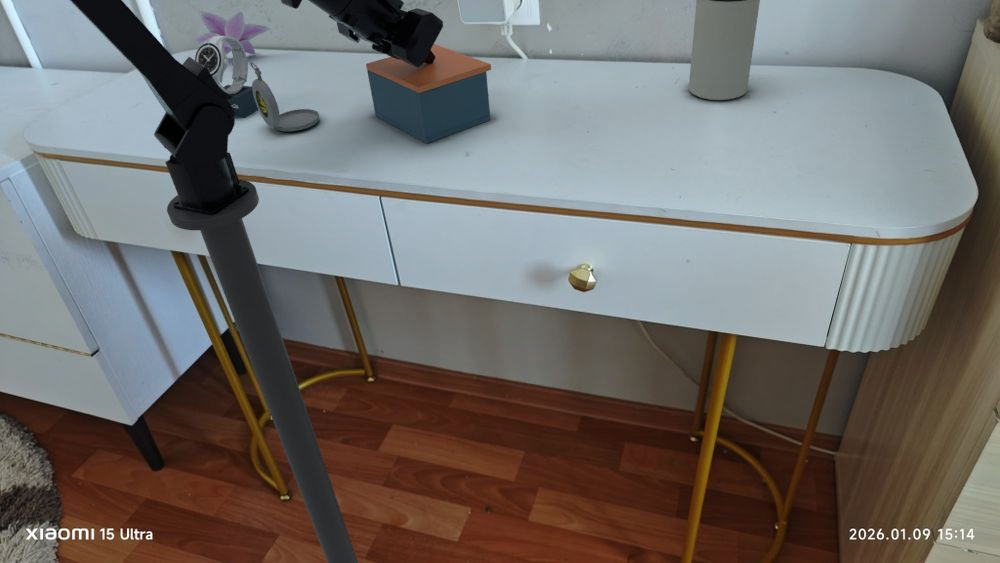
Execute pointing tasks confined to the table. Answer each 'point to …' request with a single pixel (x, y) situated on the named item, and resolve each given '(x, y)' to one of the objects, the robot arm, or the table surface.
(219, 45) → the watch
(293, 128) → the pocket watch
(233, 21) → the lily
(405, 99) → the storage box
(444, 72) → the box lid
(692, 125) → the table surface
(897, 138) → the table surface
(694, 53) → the travel mug
